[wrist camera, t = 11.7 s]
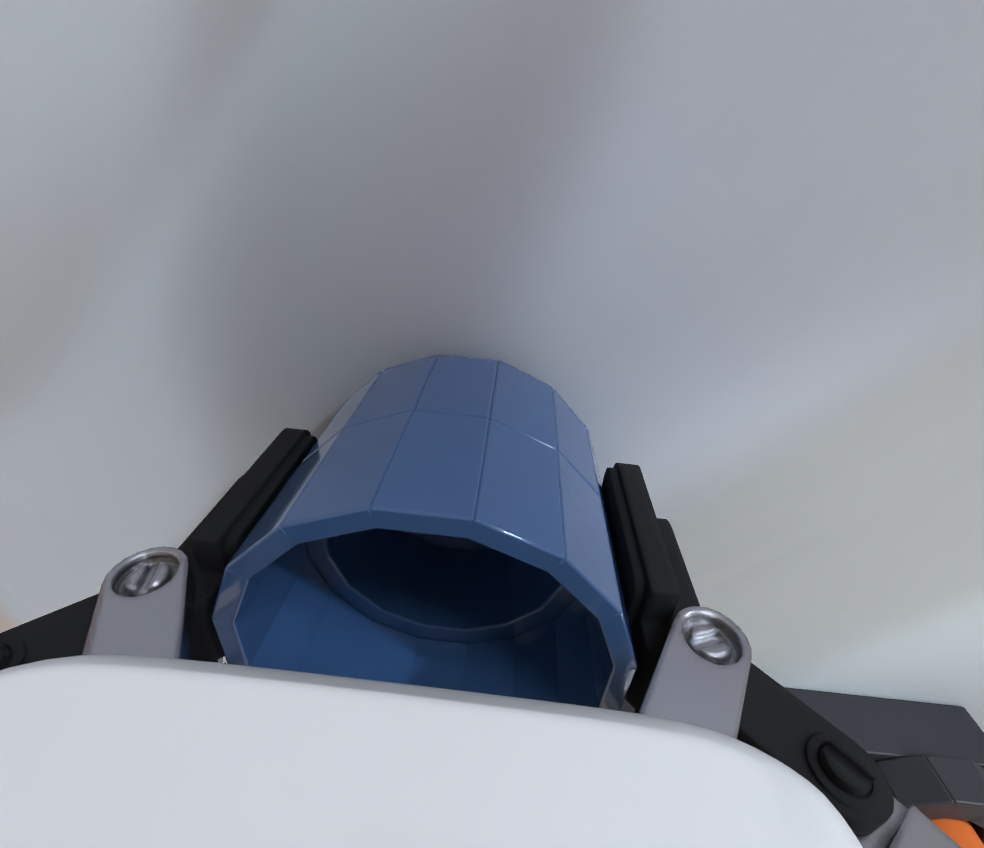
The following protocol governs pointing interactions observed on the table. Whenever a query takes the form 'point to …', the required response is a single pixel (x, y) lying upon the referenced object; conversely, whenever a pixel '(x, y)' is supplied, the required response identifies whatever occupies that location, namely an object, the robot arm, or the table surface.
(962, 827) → the button
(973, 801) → the scale
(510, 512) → the blue cup
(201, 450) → the table surface
